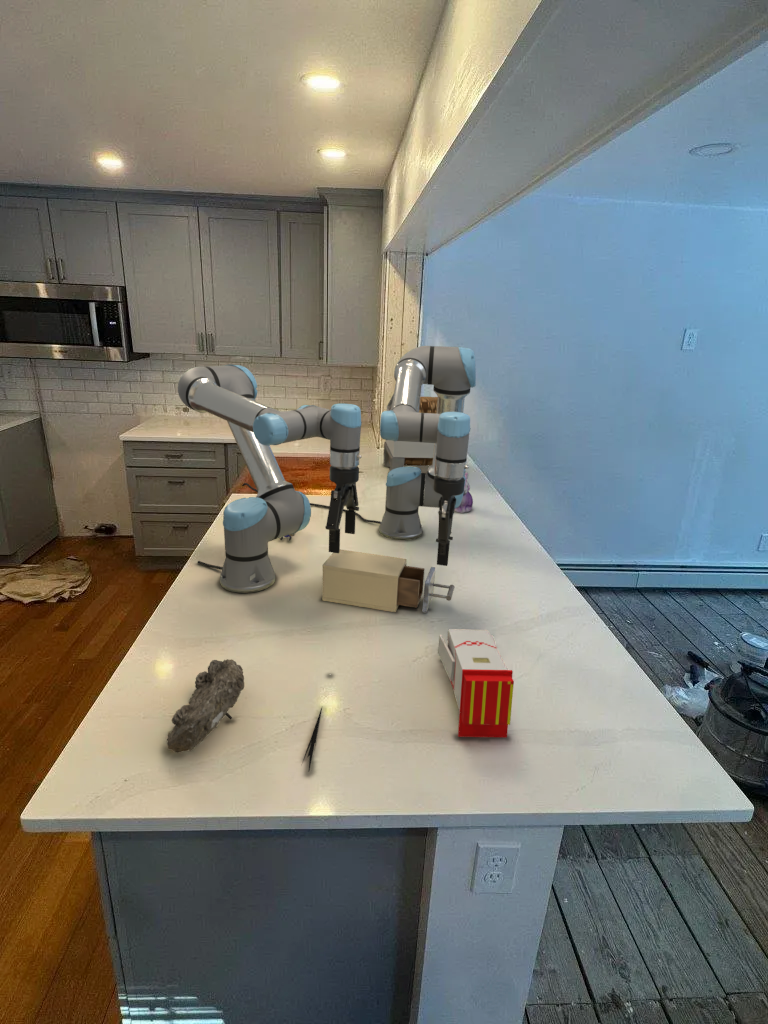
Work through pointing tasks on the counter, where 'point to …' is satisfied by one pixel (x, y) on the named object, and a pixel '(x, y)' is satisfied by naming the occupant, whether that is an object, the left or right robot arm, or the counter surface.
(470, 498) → the figurine
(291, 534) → the figurine character
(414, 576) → the drawer
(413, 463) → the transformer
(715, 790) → the counter surface
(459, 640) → the toy
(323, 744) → the counter surface
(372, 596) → the cabinet
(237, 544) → the left robot arm
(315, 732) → the feather
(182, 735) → the fossil
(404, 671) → the counter surface
